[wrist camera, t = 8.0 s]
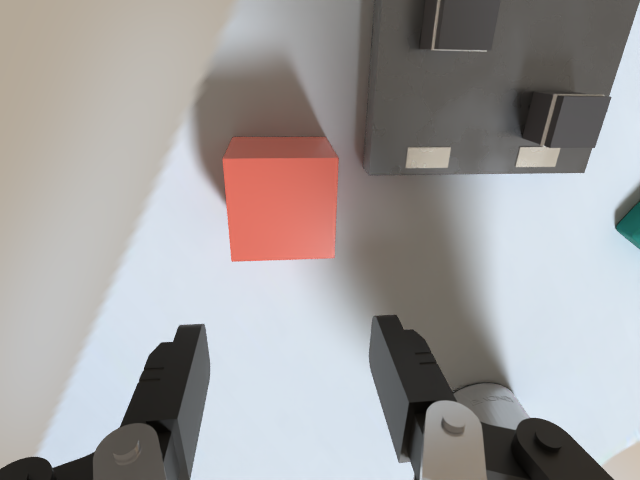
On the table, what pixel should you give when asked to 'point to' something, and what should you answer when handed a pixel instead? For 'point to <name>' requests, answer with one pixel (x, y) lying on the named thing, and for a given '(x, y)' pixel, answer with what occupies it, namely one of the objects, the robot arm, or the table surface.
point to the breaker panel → (485, 86)
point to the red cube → (281, 198)
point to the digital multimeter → (631, 226)
